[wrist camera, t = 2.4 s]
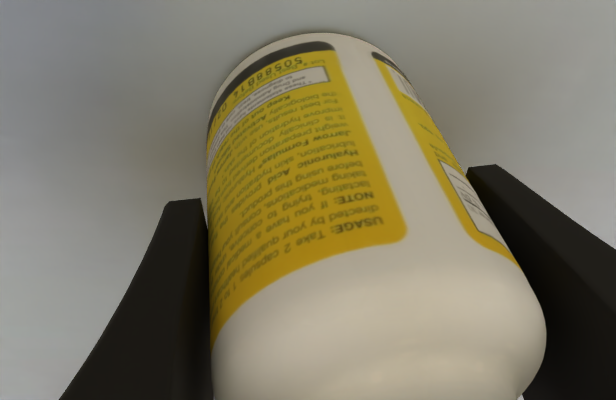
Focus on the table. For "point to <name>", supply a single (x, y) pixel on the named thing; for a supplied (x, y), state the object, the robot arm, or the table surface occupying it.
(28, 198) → the table surface
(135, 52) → the table surface
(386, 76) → the supplement bottle
